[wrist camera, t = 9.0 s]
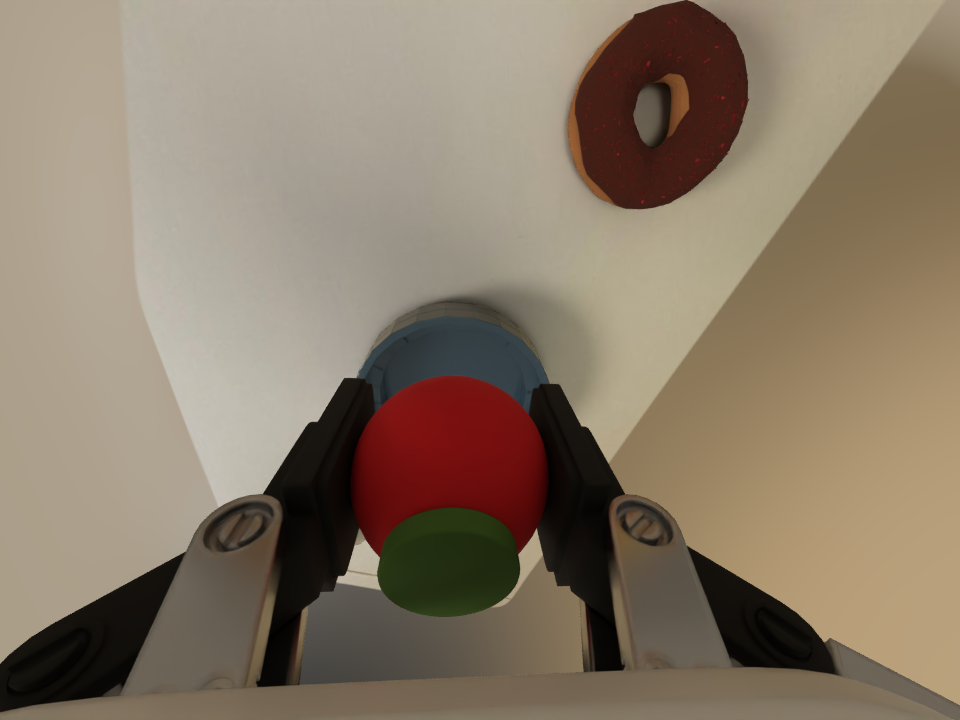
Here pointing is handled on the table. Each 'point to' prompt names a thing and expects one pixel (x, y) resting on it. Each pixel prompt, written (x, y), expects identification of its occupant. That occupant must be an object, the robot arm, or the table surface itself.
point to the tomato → (449, 493)
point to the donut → (694, 105)
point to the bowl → (453, 352)
